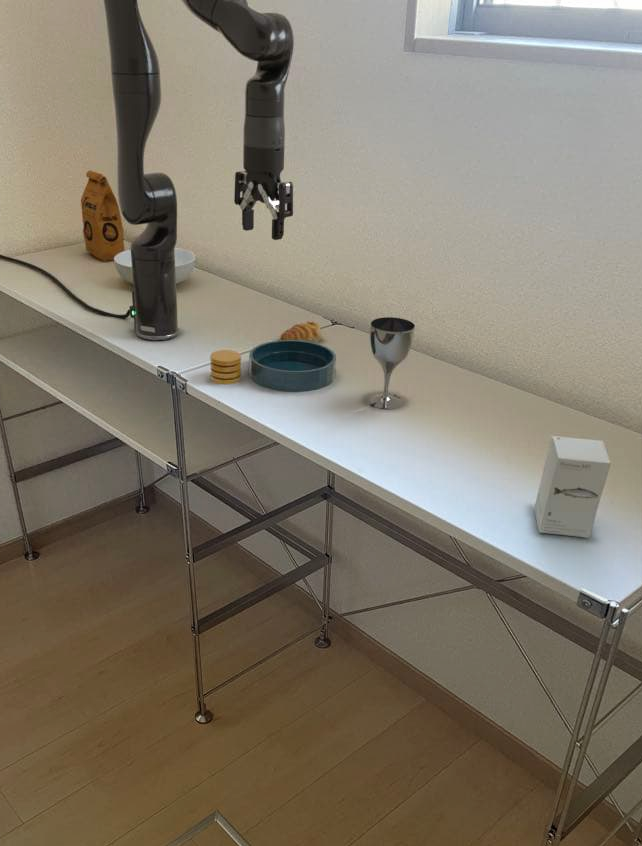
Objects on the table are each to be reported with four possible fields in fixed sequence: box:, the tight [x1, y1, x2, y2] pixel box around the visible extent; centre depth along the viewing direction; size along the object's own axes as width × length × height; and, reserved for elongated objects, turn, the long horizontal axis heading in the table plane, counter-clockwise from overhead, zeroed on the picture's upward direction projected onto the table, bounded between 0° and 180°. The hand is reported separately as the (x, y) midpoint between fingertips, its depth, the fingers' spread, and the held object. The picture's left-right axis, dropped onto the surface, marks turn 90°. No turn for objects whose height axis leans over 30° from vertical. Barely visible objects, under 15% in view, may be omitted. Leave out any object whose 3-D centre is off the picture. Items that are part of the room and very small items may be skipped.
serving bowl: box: [113, 247, 196, 285], centre depth 215 cm, size 21×21×7 cm
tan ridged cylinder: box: [209, 349, 242, 385], centre depth 163 cm, size 6×6×5 cm
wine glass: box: [369, 316, 416, 410], centre depth 154 cm, size 8×8×15 cm
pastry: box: [280, 321, 324, 343], centre depth 182 cm, size 9×7×4 cm
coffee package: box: [80, 170, 125, 262], centre depth 231 cm, size 10×12×22 cm
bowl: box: [248, 339, 337, 393], centre depth 165 cm, size 17×17×4 cm
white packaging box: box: [533, 435, 612, 539], centre depth 119 cm, size 7×7×13 cm
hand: (262, 234), depth 159 cm, fingers open, 8 cm apart
